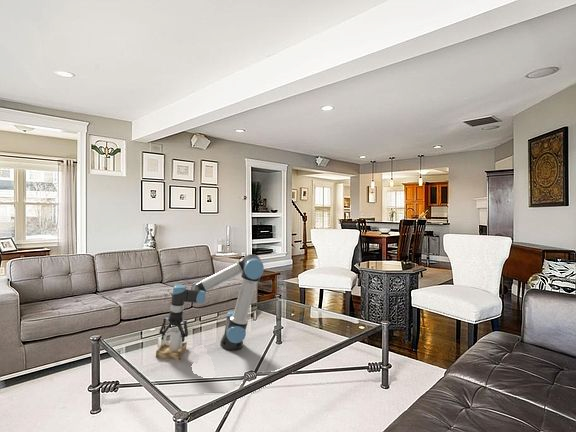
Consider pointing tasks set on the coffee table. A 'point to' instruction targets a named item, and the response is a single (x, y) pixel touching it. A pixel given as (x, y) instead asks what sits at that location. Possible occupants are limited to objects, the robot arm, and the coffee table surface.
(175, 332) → the mug
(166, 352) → the crate
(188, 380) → the coffee table surface
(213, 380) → the coffee table surface
